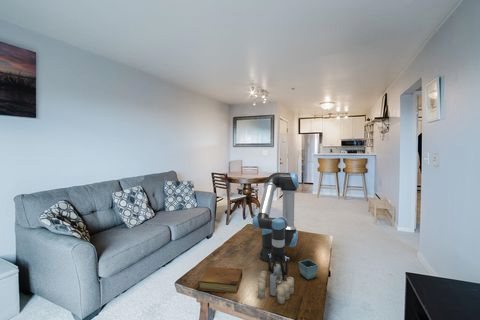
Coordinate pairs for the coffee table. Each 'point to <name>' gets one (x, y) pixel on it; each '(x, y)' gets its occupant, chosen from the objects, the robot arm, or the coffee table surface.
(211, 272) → the diary
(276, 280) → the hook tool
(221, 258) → the coffee table surface
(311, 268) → the flower pot
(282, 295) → the posts
